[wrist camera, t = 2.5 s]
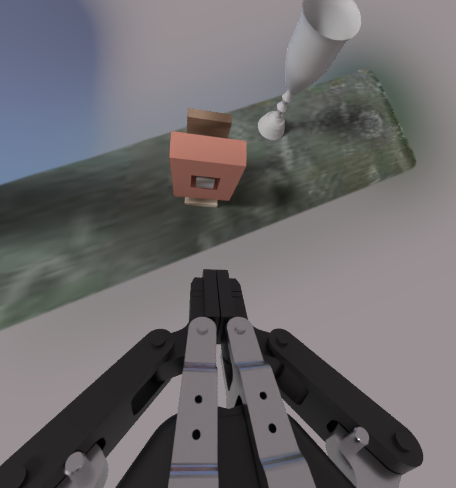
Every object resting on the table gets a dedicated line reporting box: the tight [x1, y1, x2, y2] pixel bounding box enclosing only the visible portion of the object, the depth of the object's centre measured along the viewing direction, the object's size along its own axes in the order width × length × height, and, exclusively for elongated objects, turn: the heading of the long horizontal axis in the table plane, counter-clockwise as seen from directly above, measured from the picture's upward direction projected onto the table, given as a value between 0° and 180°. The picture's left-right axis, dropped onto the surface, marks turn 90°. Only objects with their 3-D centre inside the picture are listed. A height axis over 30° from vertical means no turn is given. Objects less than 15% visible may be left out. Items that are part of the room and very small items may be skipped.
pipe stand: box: [185, 108, 232, 208], centre depth 32 cm, size 5×7×12 cm
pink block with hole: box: [169, 131, 246, 201], centre depth 29 cm, size 8×3×10 cm, turn 89°
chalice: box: [258, 0, 361, 140], centre depth 33 cm, size 7×7×18 cm
